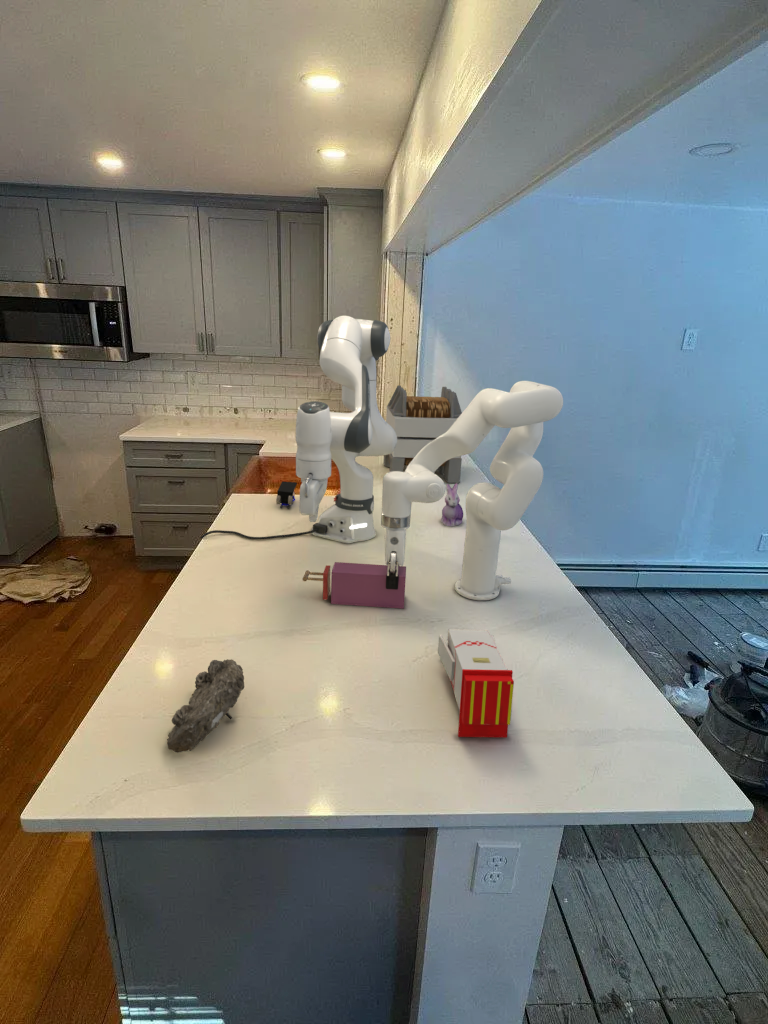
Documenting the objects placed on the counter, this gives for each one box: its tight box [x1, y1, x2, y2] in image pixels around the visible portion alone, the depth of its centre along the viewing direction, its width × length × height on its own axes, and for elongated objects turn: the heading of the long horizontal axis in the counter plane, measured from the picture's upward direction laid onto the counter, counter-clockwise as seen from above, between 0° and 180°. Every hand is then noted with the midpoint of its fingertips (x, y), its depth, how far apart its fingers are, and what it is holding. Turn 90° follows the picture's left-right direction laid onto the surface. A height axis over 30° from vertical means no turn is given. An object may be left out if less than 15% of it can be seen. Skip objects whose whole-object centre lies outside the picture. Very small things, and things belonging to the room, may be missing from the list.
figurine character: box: [275, 480, 298, 509], centre depth 223 cm, size 7×8×15 cm
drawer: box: [302, 564, 331, 601], centre depth 152 cm, size 24×5×8 cm, turn 87°
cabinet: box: [330, 561, 407, 609], centre depth 152 cm, size 19×6×9 cm, turn 87°
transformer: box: [383, 384, 463, 484], centre depth 268 cm, size 34×33×41 cm
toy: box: [437, 628, 515, 738], centre depth 117 cm, size 12×13×30 cm
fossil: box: [166, 658, 245, 754], centre depth 106 cm, size 22×10×15 cm
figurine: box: [440, 483, 464, 527], centre depth 210 cm, size 9×10×15 cm
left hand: (313, 520), depth 146 cm, fingers closed
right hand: (392, 582), depth 151 cm, fingers closed on cabinet, 6 cm apart
